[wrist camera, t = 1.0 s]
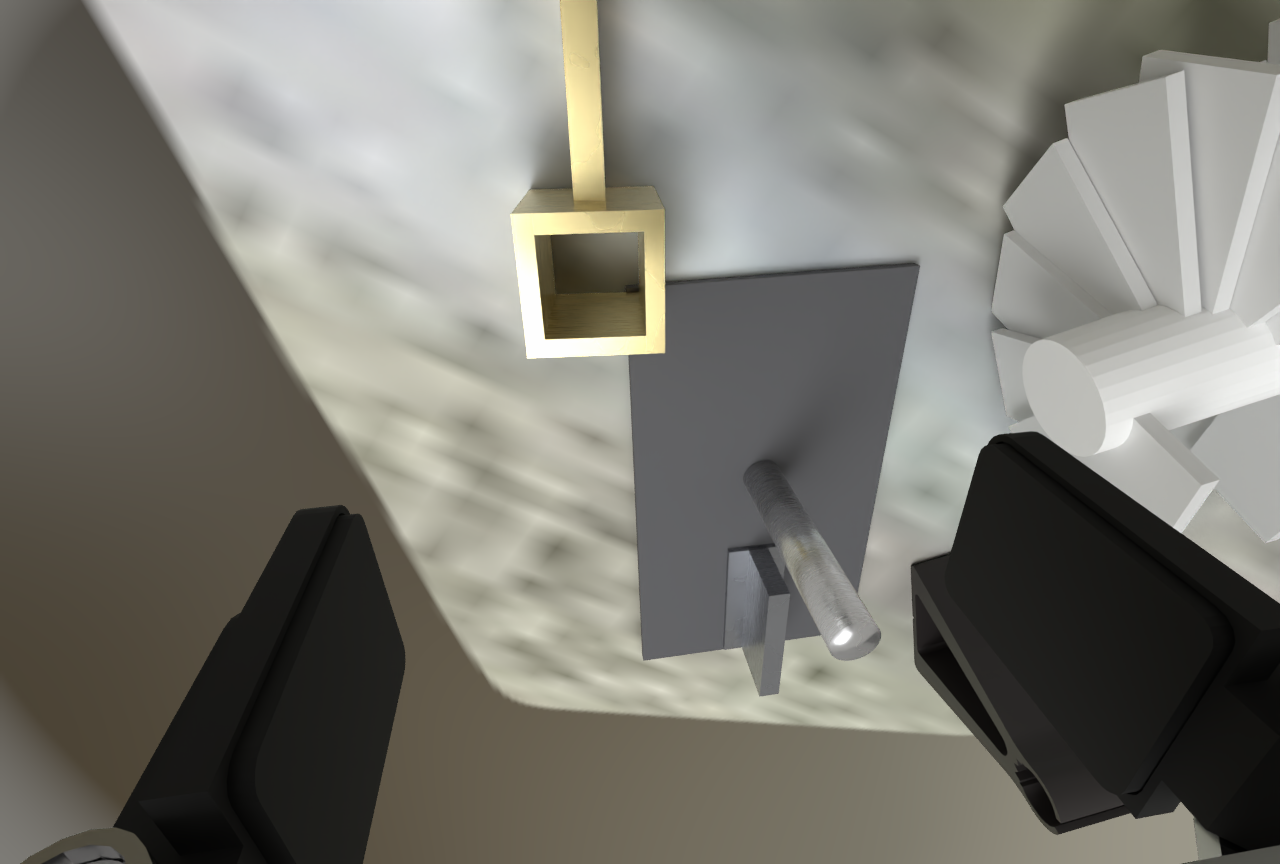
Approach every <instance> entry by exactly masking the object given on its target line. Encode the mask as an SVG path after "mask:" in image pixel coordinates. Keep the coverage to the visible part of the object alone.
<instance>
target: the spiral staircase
mask: <svg viewBox="0 0 1280 864" xmlns="http://www.w3.org/2000/svg"><path fill="white" fill-rule="evenodd" d="M1064 105H1065V113H1066V121H1067V128H1068V136H1069V140H1068V138H1066V139H1063V140H1060V141H1057V142H1055V143H1052V145H1051V146H1050V147H1049V149H1048V150H1047V151H1046V152H1045V154H1044V155H1043V156H1042V157H1041V159H1040V160H1039V161H1038V162H1037V164H1036V165H1035V166H1034V168H1033V169H1032V170H1031V171H1030V173H1029V174H1028V175H1027V176H1026V178H1025V179H1024V180H1023V181H1022V183H1021V184H1020V185H1019V187H1018V188H1017V189H1016V190H1015V192H1014V193H1013V194H1012V195H1011V197H1010V198H1009V199H1008V200H1007V202H1006V203H1005V204H1004V206H1003V208H1004V210H1005V212H1006V214H1007V216H1008V218H1009V220H1010V222H1011V224H1012V226H1013V228H1014V230H1013V231H1010V232H1008V233H1005V234H1004V237H1003V243H1002V249H1001V255H1000V261H999V267H998V273H997V278H996V284H995V290H994V296H993V302H992V308H991V312H992V313H993V314H994V315H995V316H996V317H997V318H998V319H999V320H1000V321H1001V322H1002V323H1003V324H1004V325H1005V327H1006V328H1007V329H1004V328H1001V329H998V330H995V331H992V332H991V334H992V340H993V345H994V351H995V356H996V362H997V367H998V373H999V378H1000V384H1001V389H1002V395H1003V400H1004V406H1005V411H1006V416H1008V417H1010V418H1012V419H1014V420H1016V421H1018V423H1015V424H1013V425H1011V426H1008V427H1009V429H1010V431H1011V433H1019V432H1028V431H1034V432H1038V433H1040V434H1042V435H1044V436H1045V437H1047V438H1048V439H1050V440H1051V441H1052V442H1054V443H1055V444H1057V445H1058V446H1059V447H1061V448H1062V449H1064V450H1065V451H1066V452H1068V453H1069V454H1071V455H1072V456H1073V457H1075V458H1076V459H1078V460H1079V461H1080V462H1082V463H1083V464H1085V465H1086V466H1087V467H1089V468H1090V469H1092V470H1093V471H1094V472H1096V473H1097V474H1099V475H1100V476H1101V477H1103V478H1104V479H1106V480H1107V481H1108V482H1110V483H1111V484H1113V485H1114V486H1115V487H1117V488H1118V489H1120V490H1121V491H1122V492H1124V493H1125V494H1127V495H1128V496H1129V497H1131V498H1132V499H1134V500H1135V501H1136V502H1138V503H1139V504H1141V505H1142V506H1143V507H1145V508H1146V509H1148V510H1149V511H1150V512H1152V513H1153V514H1155V515H1156V516H1157V517H1159V518H1160V519H1162V520H1163V521H1165V522H1166V523H1167V524H1169V525H1170V526H1172V527H1173V528H1174V529H1176V530H1177V531H1179V532H1180V533H1182V532H1183V530H1184V529H1185V528H1186V526H1187V525H1188V523H1189V522H1190V521H1191V519H1192V518H1193V517H1194V515H1195V514H1196V512H1197V511H1198V510H1199V508H1200V507H1201V505H1202V504H1203V503H1204V501H1205V500H1206V498H1207V497H1208V496H1209V494H1210V493H1211V491H1212V490H1213V489H1215V490H1216V491H1217V492H1218V493H1219V495H1220V496H1221V497H1222V498H1223V499H1224V500H1225V501H1226V502H1227V503H1228V504H1229V505H1230V506H1231V507H1232V508H1233V509H1234V511H1235V512H1236V513H1237V514H1238V515H1239V516H1240V517H1241V518H1242V519H1243V520H1244V521H1245V522H1246V523H1247V524H1248V525H1249V527H1250V528H1251V529H1252V530H1253V531H1254V532H1255V533H1256V534H1257V535H1258V536H1259V537H1260V538H1261V539H1262V540H1263V541H1264V542H1265V543H1268V542H1271V541H1274V540H1278V539H1280V19H1278V20H1275V21H1272V22H1270V23H1269V35H1268V62H1267V61H1266V60H1264V61H1261V62H1254V61H1246V60H1238V59H1230V58H1222V57H1215V56H1207V55H1199V54H1191V53H1183V52H1175V51H1167V50H1158V51H1155V52H1152V53H1150V54H1147V55H1144V56H1143V58H1142V64H1141V71H1140V78H1139V83H1135V84H1132V85H1128V86H1124V87H1121V88H1117V89H1114V90H1110V91H1106V92H1103V93H1099V94H1095V95H1092V96H1088V97H1084V98H1081V99H1078V100H1075V101H1072V102H1070V103H1067V104H1064Z"/></svg>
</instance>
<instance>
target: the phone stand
mask: <svg viewBox="0 0 1280 864" xmlns="http://www.w3.org/2000/svg"><path fill="white" fill-rule="evenodd" d="M949 557H950V555H947V556H943V557H940V558H937V559H933V560H930V561H927V562H923V563H920V564H917V565H913V566H911V584H912V609H913V617H914V619H913V634H914V659H915V665H916V668H917V670H918V671H919V672H920V674H921V675H922V676H923V677H924V678H925V679H926V680H927V682H928V683H929V684H930V685H931V686H932V687H933V689H934V690H935V691H936V692H937V693H938V694H939V695H940V697H941V698H942V699H943V700H944V701H945V702H946V703H947V705H948V706H949V707H950V708H951V709H952V710H953V711H954V713H955V714H956V715H957V716H958V717H959V718H960V720H961V721H962V722H963V723H964V724H965V725H966V726H967V728H968V729H969V730H970V731H971V732H972V733H973V734H974V736H975V737H976V738H977V739H978V740H979V741H980V742H981V744H982V745H983V746H984V747H985V748H986V749H987V750H988V752H989V753H990V754H991V755H992V756H993V757H994V759H995V760H996V761H997V762H998V763H999V764H1000V765H1001V767H1002V768H1003V769H1004V770H1005V771H1006V772H1007V774H1008V775H1009V776H1010V777H1011V779H1012V780H1013V781H1014V783H1015V784H1016V785H1017V787H1018V788H1019V790H1020V791H1021V793H1022V794H1023V796H1024V797H1025V799H1026V800H1027V802H1028V804H1029V805H1030V807H1031V809H1032V810H1033V812H1034V813H1035V815H1036V816H1037V817H1038V819H1039V820H1040V821H1041V822H1042V823H1043V825H1044V826H1045V827H1046V828H1047V829H1048V830H1049V831H1051V832H1052V833H1054V834H1056V835H1058V834H1062V833H1065V832H1068V831H1072V830H1075V829H1079V828H1082V827H1085V826H1088V825H1092V824H1095V823H1099V822H1102V821H1105V820H1108V819H1112V818H1115V817H1119V816H1122V815H1126V814H1129V813H1131V812H1130V811H1129V810H1128V809H1127V807H1126V806H1125V805H1124V804H1123V802H1122V801H1121V800H1120V799H1119V798H1118V796H1117V795H1115V794H1113V793H1110V792H1108V791H1107V790H1106V789H1104V788H1103V787H1102V786H1101V785H1100V784H1099V783H1098V782H1097V781H1096V779H1095V778H1094V777H1093V776H1092V774H1091V773H1090V772H1089V771H1088V769H1087V768H1086V767H1085V766H1084V764H1083V763H1082V762H1081V761H1080V759H1079V758H1078V757H1077V756H1076V754H1075V753H1074V752H1073V750H1072V749H1071V748H1070V747H1069V745H1068V744H1067V743H1066V742H1065V740H1064V739H1063V738H1062V737H1061V735H1060V734H1059V733H1058V732H1057V730H1056V729H1055V728H1054V727H1053V725H1052V724H1051V723H1050V721H1049V720H1048V719H1047V718H1046V716H1045V715H1044V714H1043V713H1042V711H1041V710H1040V709H1039V708H1038V706H1037V705H1036V704H1035V703H1034V701H1033V700H1032V699H1031V698H1030V696H1029V695H1028V694H1027V692H1026V691H1025V690H1024V689H1023V687H1022V686H1021V685H1020V684H1019V682H1018V681H1017V680H1016V679H1015V677H1014V676H1013V675H1012V674H1011V672H1010V671H1009V670H1008V669H1007V667H1006V666H1005V665H1004V663H1003V662H1002V661H1001V660H1000V658H999V657H998V656H997V655H996V653H995V652H994V651H993V650H992V648H991V647H990V646H989V645H988V643H987V642H986V641H985V640H984V638H983V637H982V636H981V634H980V633H979V632H978V631H977V629H976V628H975V627H974V626H973V624H972V623H971V622H970V621H969V619H968V618H967V617H966V616H965V614H964V613H963V612H962V611H961V609H960V608H959V607H958V605H957V604H956V603H955V602H954V600H953V599H952V598H951V596H950V595H949V593H948V591H947V588H946V585H945V571H946V568H947V564H948V561H949Z"/></svg>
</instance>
